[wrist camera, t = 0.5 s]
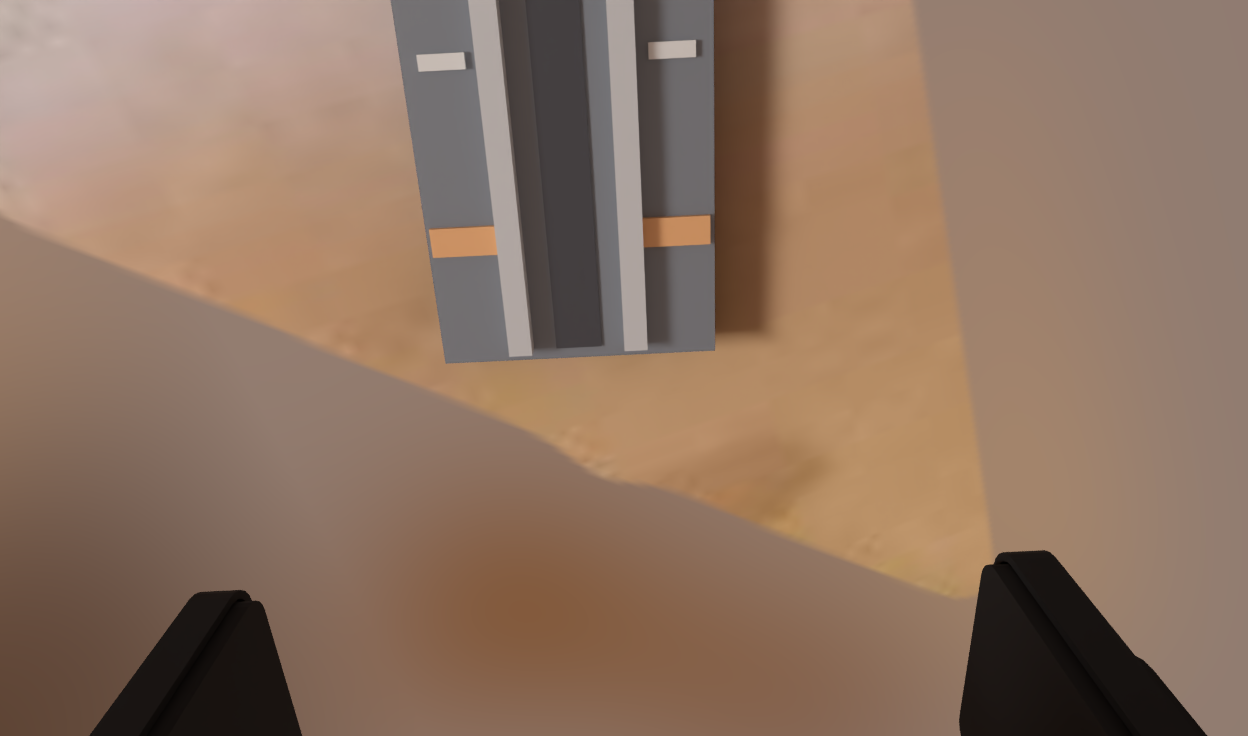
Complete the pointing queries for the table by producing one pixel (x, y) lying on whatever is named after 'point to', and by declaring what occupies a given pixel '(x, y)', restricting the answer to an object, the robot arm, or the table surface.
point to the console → (564, 173)
